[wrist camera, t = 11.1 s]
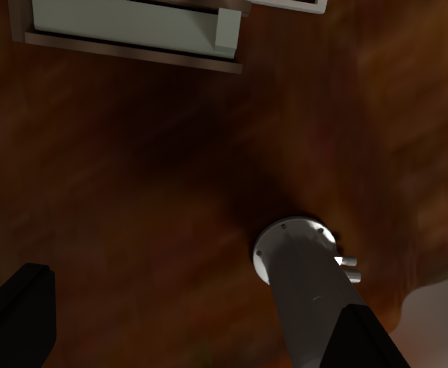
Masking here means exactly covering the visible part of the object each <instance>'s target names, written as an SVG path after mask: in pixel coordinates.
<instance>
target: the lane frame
mask: <svg viewBox="0 0 448 368" xmlns="http://www.w3.org/2000/svg"><path fill="white" fill-rule="evenodd" d="M142 1H148V2H154V3H161V4H167V5H173V6H179V7H185V8H192V9H198V10H204V11H210V12H216V13H219V8H223V9H229V10H236V11H242V12H241V17H248V16H249V14H250V10H251V4H252V2H250V1H244V0H142ZM8 7H9V16H10V24H11V33H12V41H16V42H22V43H27V44H34V45H40V46H47V47H54V48H61V49H68V50H75V51H82V52H89V53H96V54H103V55H110V56H117V57H124V58H131V59H138V60H145V61H152V62H159V63H166V64H172V65H179V66H186V67H193V68H200V69H207V70H214V71H221V72H228V73H235V74H241V73H242V66H243V64H237V63H230V62H224V61H217V60H210V59H203V58H196V57H190V56H183V55H176V54H169V53H162V52H156V51H149V50H142V49H135V48H128V47H122V46H115V45H108V44H101V43H94V42H88V41H81V40H74V39H67V38H60V37H54V36H47V35H40V34H38V30H36V29H35V26H34V15H33V4H32V0H8Z"/></svg>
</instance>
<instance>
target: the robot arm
mask: <svg viewBox="0 0 448 368" xmlns="http://www.w3.org/2000/svg"><path fill="white" fill-rule="evenodd" d="M282 224H283V225H282ZM252 258H253V264H254V267H255V270H256V272H257V274H258V275H259V277H260V278H261V279H262V280H263V281H264V282H266V283H267V284H269V285H270V287H271V291H272V294H273V298H274V302H275V305H276V309H277V313H278V316H279V320H280V323H281V327H282V331H283V334H284V338H285V341H286V345H287V349H288V352H289V356H290V359H291V363H292V366H293V368H411V367H410V366H409V364H408V363H407V362H406V360H405V359H404V357H403V356H402V354H401V353H400V351H399V350H398V348H397V347H396V345H395V344H394V342H393V341H392V340H391V338H390V337H389V335H388V334H387V332H386V331H385V329H384V328H383V326H382V325H381V323H380V322H379V320H378V319H377V318H376V316H375V315H374V313H373V312H372V310H371V309H370V308H369V307H368V306H367V305H366V303H365V302H364V300H363V299H362V297H361V296H360V294H359V293H358V291H357V290H356V288H355V287H354V285H353V284H352V282H353V283H358V282H360V278H361V275H360V272H359V270H357V269H347V268H346V269H342V268H341V266H340V265H347V266H356V264H357V259H356V257H355V256H341V255H340V254H339V253H338V252H337V247H336V242H335V239H334V237H333V235H332V234H331V232H330V231H329V230H328V228H327V227H326V226H325V225H323V224H322V223H321V222H319V221H317V220H315V219H313V218H309V217H304V216H292V217H287V218H283V219H280V220H278V221H276V222H274V223H272V224H271V225H269V226H268V227H267V228H265V229H264V230H263V231H262V232H261V234H260V235H259V236H258V238H257V240H256V242H255V244H254V247H253V253H252ZM56 335H57V334H56V300H55V273H54V271H50V268H49V266H48V265H42V264H34V263H26V264H25V265H23V266H22V267H21V268H20V269H19V270H18V271H17V272H16V273H15V274H14V275H13V276H12V277H11V278H10V279H9V280H7V281H6V282H5V283H4V284H3V285H2V286H1V287H0V368H41V367H42V365H43V363H44V362H45V360H46V358H47V357H48V355H49V354H50V352H51V350H52V349H53V347H54V344H55V341H56Z"/></svg>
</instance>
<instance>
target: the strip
mask: <svg viewBox="0 0 448 368" xmlns="http://www.w3.org/2000/svg"><path fill="white" fill-rule="evenodd" d="M32 4H33V15H34V26H35V29H36V30H40V31H46V32H52V33H59V34H66V35H73V36H79V37H86V38H93V39H100V40H107V41H113V42H120V43H127V44H134V45H140V46H147V47H154V48H161V49H167V50H174V51H181V52H188V53H194V54H201V55H208V56H215V57H221V58H228V59H234V54H235V50H236V49H237V41H238V34H239V26H240V19H241V12H242V11H236V10H229V9H223V8H219V14H218V15H214V14H208V13H202V12H195V11H189V10H183V9H177V8H170V7H164V6H158V5H152V4H145V3H139V2H133V1H127V0H32Z"/></svg>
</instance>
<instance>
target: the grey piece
mask: <svg viewBox="0 0 448 368" xmlns="http://www.w3.org/2000/svg"><path fill="white" fill-rule="evenodd" d="M244 1H250V2H252V3H256V4H262V5H268V6H274V7H280V8H286V9H292V10H298V11H304V12H310V13H316V14H323V13H324V12H325V8H326V4H327V0H315V4H310V3H304V2H298V1H292V0H244Z"/></svg>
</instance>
